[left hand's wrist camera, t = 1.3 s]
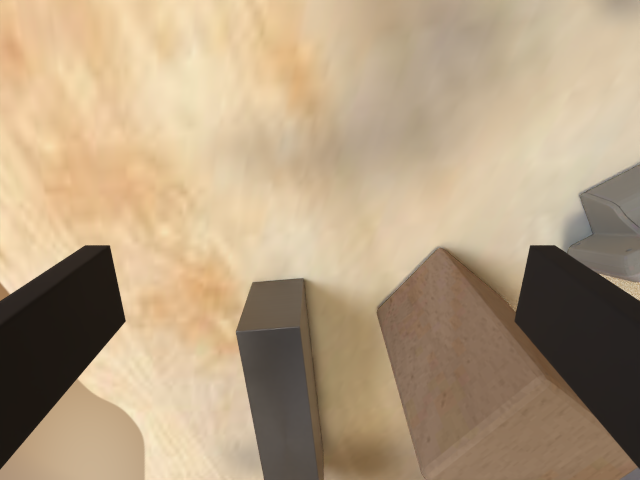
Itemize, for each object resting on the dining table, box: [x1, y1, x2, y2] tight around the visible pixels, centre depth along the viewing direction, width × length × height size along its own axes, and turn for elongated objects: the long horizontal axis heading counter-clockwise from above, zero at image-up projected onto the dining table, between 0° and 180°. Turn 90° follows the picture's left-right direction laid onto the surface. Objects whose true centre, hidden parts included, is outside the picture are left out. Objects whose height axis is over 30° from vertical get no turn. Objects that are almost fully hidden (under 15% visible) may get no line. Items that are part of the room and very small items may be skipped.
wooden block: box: [377, 248, 638, 480], centre depth 33 cm, size 10×10×20 cm
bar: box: [236, 278, 324, 480], centre depth 41 cm, size 25×6×9 cm, turn 5°
